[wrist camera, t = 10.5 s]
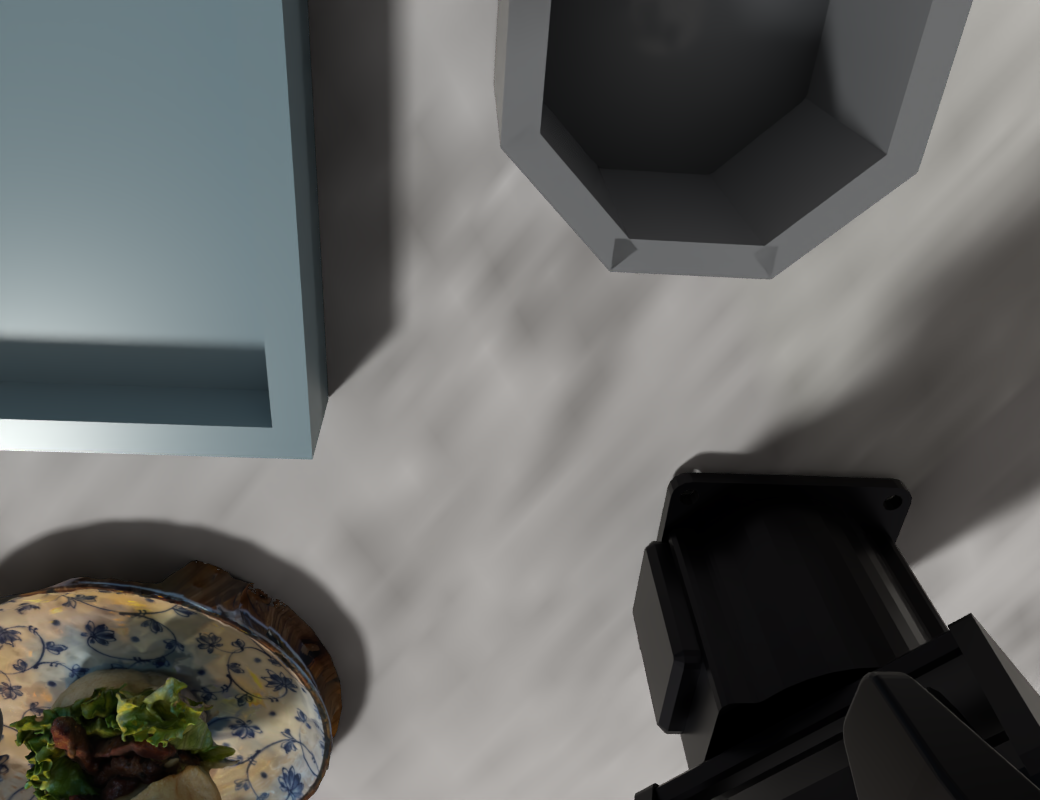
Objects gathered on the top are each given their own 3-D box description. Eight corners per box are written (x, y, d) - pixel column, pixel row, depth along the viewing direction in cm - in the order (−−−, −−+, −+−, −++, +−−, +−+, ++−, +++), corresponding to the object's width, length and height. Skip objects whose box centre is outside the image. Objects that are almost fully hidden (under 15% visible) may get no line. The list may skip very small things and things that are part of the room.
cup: (891, -173, 15) (1032, -185, 11) (798, 199, 19) (881, 285, 15) (509, -208, 15) (523, -233, 11) (488, 181, 18) (493, 265, 14)
